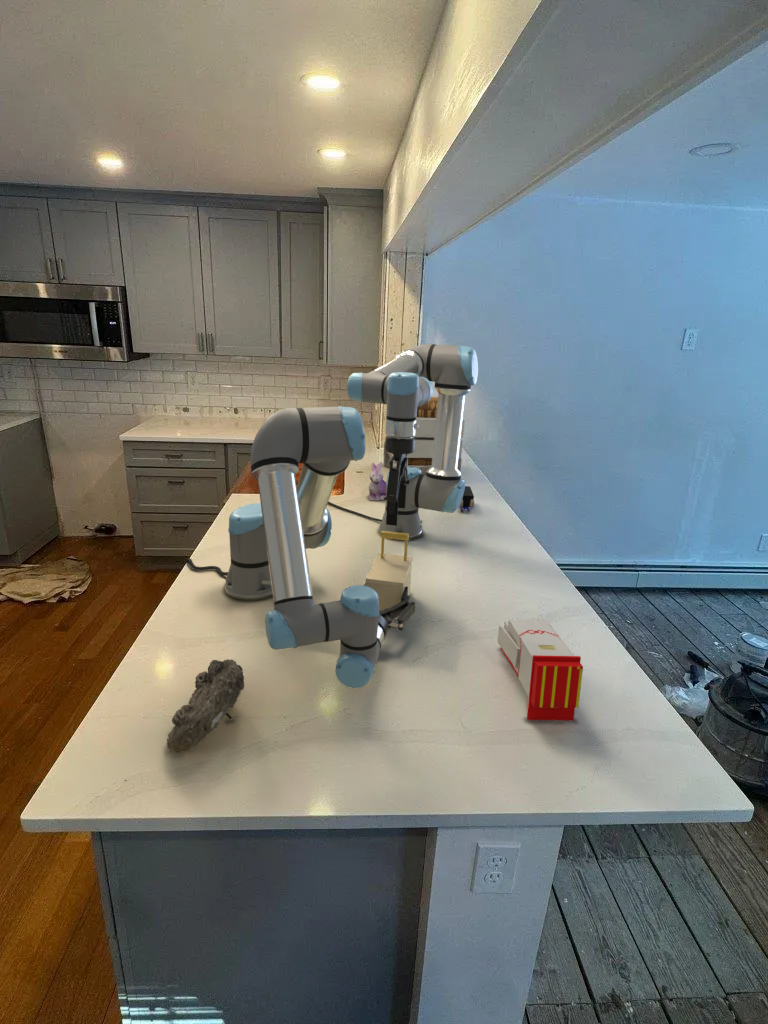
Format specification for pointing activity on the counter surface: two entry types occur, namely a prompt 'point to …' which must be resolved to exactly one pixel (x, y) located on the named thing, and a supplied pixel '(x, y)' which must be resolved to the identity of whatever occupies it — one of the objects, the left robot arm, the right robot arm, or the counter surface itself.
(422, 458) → the transformer
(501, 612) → the counter surface
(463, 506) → the figurine character
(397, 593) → the chest
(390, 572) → the lid
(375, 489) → the figurine
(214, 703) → the fossil
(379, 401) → the right robot arm
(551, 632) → the toy
